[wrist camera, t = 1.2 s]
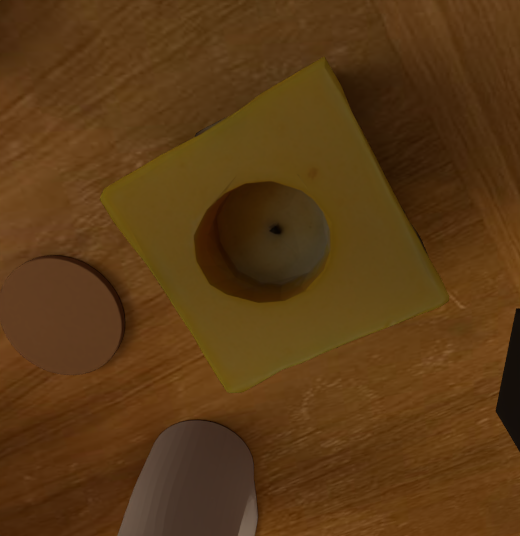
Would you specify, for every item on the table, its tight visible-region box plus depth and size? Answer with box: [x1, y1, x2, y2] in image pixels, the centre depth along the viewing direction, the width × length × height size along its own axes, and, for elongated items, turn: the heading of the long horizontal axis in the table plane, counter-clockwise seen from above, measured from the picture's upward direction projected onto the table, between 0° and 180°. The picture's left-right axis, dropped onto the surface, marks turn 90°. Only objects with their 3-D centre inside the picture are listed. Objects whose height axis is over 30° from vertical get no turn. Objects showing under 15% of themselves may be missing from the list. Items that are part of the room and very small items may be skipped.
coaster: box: [0, 256, 125, 375], centre depth 31 cm, size 8×8×1 cm
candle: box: [100, 57, 449, 393], centre depth 23 cm, size 10×10×10 cm
